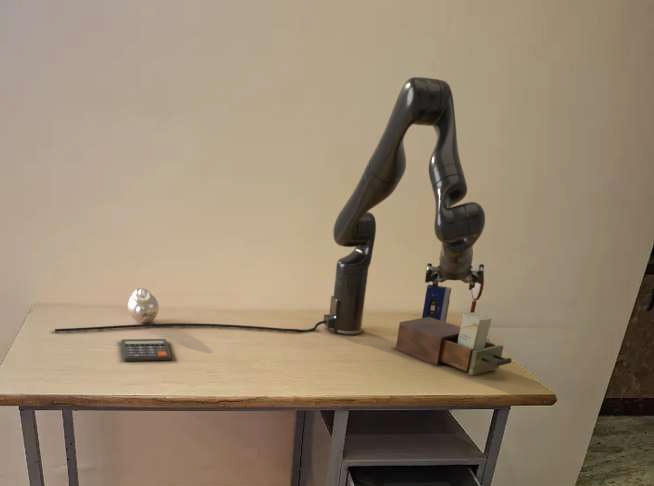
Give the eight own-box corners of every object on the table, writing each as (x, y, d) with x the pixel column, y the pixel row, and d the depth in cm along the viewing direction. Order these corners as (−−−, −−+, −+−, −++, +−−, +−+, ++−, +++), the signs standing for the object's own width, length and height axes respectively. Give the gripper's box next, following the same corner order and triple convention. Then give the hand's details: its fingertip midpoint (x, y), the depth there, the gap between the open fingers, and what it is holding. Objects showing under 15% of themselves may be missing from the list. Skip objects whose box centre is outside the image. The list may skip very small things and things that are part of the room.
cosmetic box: (453, 358, 187) (462, 313, 181) (465, 356, 189) (474, 311, 183) (469, 366, 182) (479, 319, 176) (482, 364, 184) (492, 318, 178)
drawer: (514, 374, 182) (519, 351, 179) (487, 381, 176) (492, 357, 173) (456, 352, 195) (460, 331, 192) (430, 358, 188) (433, 336, 185)
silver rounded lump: (122, 325, 201) (120, 289, 196) (135, 316, 209) (134, 282, 204) (152, 328, 199) (151, 293, 194) (164, 320, 207) (163, 285, 202)
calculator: (123, 357, 174) (121, 338, 186) (124, 360, 174) (121, 342, 187) (171, 356, 177) (165, 338, 189) (171, 359, 177) (165, 341, 190)
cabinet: (465, 358, 193) (471, 331, 189) (436, 365, 187) (441, 337, 183) (424, 343, 203) (429, 316, 200) (395, 349, 197) (399, 322, 193)
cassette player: (420, 323, 221) (427, 284, 215) (422, 321, 223) (428, 283, 217) (443, 327, 219) (450, 288, 213) (445, 325, 221) (452, 286, 215)
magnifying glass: (473, 342, 207) (487, 273, 197) (467, 342, 207) (481, 272, 197) (466, 333, 214) (479, 266, 204) (460, 333, 214) (474, 266, 204)
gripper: (488, 243, 164) (483, 272, 180) (426, 242, 168) (426, 271, 183) (485, 273, 164) (480, 300, 179) (424, 272, 167) (424, 299, 183)
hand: (453, 286), depth 181 cm, fingers open, 8 cm apart
